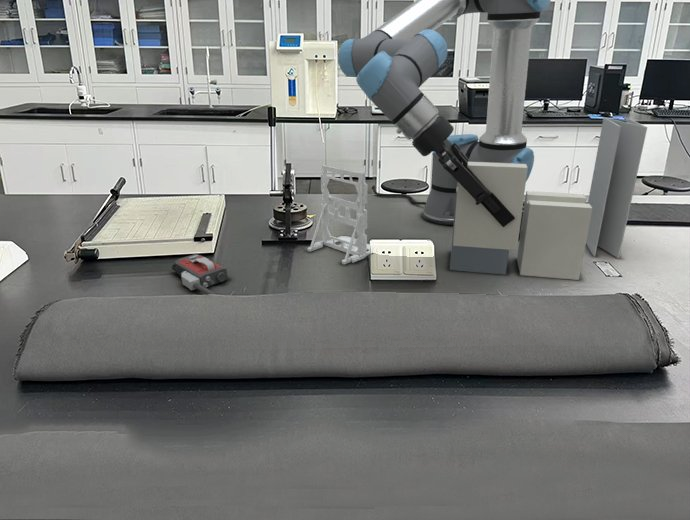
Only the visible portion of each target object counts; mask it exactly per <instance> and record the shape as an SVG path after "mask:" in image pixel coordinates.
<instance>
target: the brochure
mask: <svg viewBox="0 0 690 520" xmlns="http://www.w3.org/2000/svg"><path fill="white" fill-rule="evenodd" d="M647 130H648V127H647V126H646V125H644V124H642V123H639V122H638V121H635V120H633V119H631V118H629V117H627V118H626V121H622V120H618V119H614V118H609V117H603V119H602V125H601V130H600V134H599V141H598V145H597V151H596V156H595V161H594V168H593V173H592V179H591V184H590V188H589V189H590V190H589V194H588V198H587V204H590V205H591V207H592V213H591V218H590V224H589V229H588V234H587V240H586V246H587V248H588V249H589V251H590V253H591V254H592V256H593V257H596V255H597V249H598V247H599V248H601V249H602V250H604V251H605V252H607V253H608V254H610V255H612V256H613V257H615V258H617V259H619V258H620V257H621V251H622V245H623V242H624V237H625V232H626V228H627V223H628V218H629V214H630V209H631V204H632V200H633V196H634V191H635V187H636V181H637V178H638V177H637V176H638V173H639V168H640V164H641V159H642V154H643V149H644V145H645V140H646V135H647V132H648V131H647Z"/></svg>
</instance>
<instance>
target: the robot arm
mask: <svg viewBox="0 0 690 520" xmlns="http://www.w3.org/2000/svg"><path fill="white" fill-rule="evenodd" d="M551 2H552V0H415V1H414V2H412V3H411V4H409V5H408V6H407V7H405V8H404V9H402V10H401V11H400V12H398V13H397V14H395V15H394V16H393V17H391V18H390V19H388V20H387V21H386V22H384V23H383V24H381V25H379V27H377V28H376V29H374V30H373V31H372V32H370V33H368V34H367V35H366V36H364V37H361V38H359V37H354V38H350V39H346V40H344V41H343V42H342V44H341V45H340V47H339V50H338V55H337V61H338V66H339V68H340V70H341V72H342V73H343V74H344V75H345V76H347V77H351V78H355V79H356V84H357V85H358V87H359V88H360V90H361V91H362V92H363V93H364V94H365V95H366V97H367V98H368V100H370V101H371V102H372V103H373V104H374V105H375V106H376V107H377V108H378V109H379V111H380V112H381V113H383V115H384V116H385V117H386V118H387V119H388V120H389V121H390V122H391V124H393V125H394V126H395V127H396V133H397V134H398V135H399V134H402V135H403V136H404V137H405V138H406V139H407V140H408V141H409V140H410V141H411V140H412V142H411V145H412V146H413V148H414V149H415V150H416V151H417V152H418V154H420V155H421V156H423V157H427V156H429V155H430V154H431V153H432V165H431V180H430V183H431V184H430V191H429V193H428V196H427V199H426V202H425V201H416V200H414V198H413V197H412V196H410V195H409V194H404V193H381V192H378V191H377V190H376V185H373V184H372V186H371V190H372V192H373V194H375V195H376V196H378V197H387V198H388V197H389V198H390V197H401V198H407V199H409V200H410V202H411V203H412V204H414V205H419V206H420V205H423V210H422V217H423V219H425V220H427V221H428V222H431V223H433V224H437V225H443V226H453V224H454V212H455V200H456V188H457V181H458V182H459V183H460V184H461V185H462V186H463V187H464V189H465V190H466V191H467V192H468V193H469V194H470V195H471V196H472V197H473V198H474V199H475V201H476V203H475V204H476V205H479V204H480V203H481V204H482V205H483V206H484V207H485V208H486V209H487V210H488V211H489V212H490V214H491V215H492V216H493V217H494V218H495V219H496V220H497V221H498V222H499V223H500V225H501V226H502V227H505V226H506V225H507V224H509V223H510V222H511V221H512V220H514V219H515V217H514V216H513V215H512V214H511V213H510V211H509V210H508V209H507V208H506V207H505V206H504V205H503V204H502V203H501V202H500V200H499V199H498V198H497V197H496V196H495V195H494V194H493V193H492V192H491V193H490V191H489V190H488V189H487V188H486V187H485V186H484V185H483V183H482V182H481V181H480V180H479V179H478V178H477V176H476V175H475V174H474V173H473V172H472V171H471V170H470V169H469V167H468V166H467V165H468V162H489V163H514V164H526V165H527V167H528V169H527V177H526V182H527V181H528V180H529V178H530V175H531V173H532V171H533V167H534V163H535V155H534V154H535V152H534V150H533V149H531V148H530V147H527V144H528V143H527V142H528V137H526V136H525V135H524V133H522V129H523V119H524V109H525V99H526V89H527V79H528V69H529V60H530V51H531V50H530V49H531V39H532V30H533V27H534V26H535V25H536V24H537V23H538V22H539V21H540V18H541V12H543V11H546V10H547V9H548V8H549V6H550V4H551ZM479 13H482V14H486V13H487V19H486V22H487V23H488V24H489V26H490V27H491V28H492V42H491V55H490V69H489V81H488V82H489V84H488V95H487V97H488V98H487V100H488V101H487V111H486V125H485V126H486V127H485V132H484V133H482V135H480V136H478V135H477V134H474V133H473V134H472V133H471V134H470V133H469V134H466V133H465V134H464V133H463V134H453V132H454V130H455V129H454V126H453V125H452V124H451V123H450V122H449V121H448V119H447V118H446V117H445V116H444V115H441V114H439V109H438V108H437V107H436V106H435V105H434V103H433V102H432V101H431V100H430V99H429V98H428V97H427V95H425V94H424V93H423V91H422V90H421V89H420V87H421V86H422V85H424V83H425V82H427V80H429V79H430V78H431V77H432V76H433V75H435V74H436V73H437V72H438V71H439V69H440V67H442V65H443V64H444V63H445V61H446V60H447V57H448V45H447V42H446V40H445V39H444V37H443V36H442V35H441V33H439V32H438V31H436V30H437V29H438V28H440V27H441V26H442V25H443V24H445V23H446V22H447V21H454V20H457V19H459V18H460V17H461V16H463V15H467V14H479ZM452 134H453V135H452ZM462 163H463V164H462Z"/></svg>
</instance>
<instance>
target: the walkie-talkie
mask: <svg viewBox="0 0 690 520" xmlns="http://www.w3.org/2000/svg"><path fill="white" fill-rule="evenodd" d="M170 268H171V269H172V270H173V271H174V272H175V273H176V274H177V275H178V276H180V278H181V283H182V284H181V285H182V286H185V288H188V289H189V290H190V291H194V290H197V291H200V292H202V293H203V294H204V295H207V294H216V292H214V291H212V290H210V289H209V287H212V286H214V285H215V286H216V285H218V284H220V283H223V282H226V281H228V271H227V270H228V269H227V267H225V266H223V265H221V264H219V263H217V262H215V261H213V260H211V259H210V258H207V257H205V256H203V255H201V254H197V253H195V254H191V255H187V256H184V257H181V258H178V259H176V260H175V262H174V264H171V266H170Z"/></svg>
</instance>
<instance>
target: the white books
mask: <svg viewBox="0 0 690 520" xmlns="http://www.w3.org/2000/svg"><path fill="white" fill-rule="evenodd" d="M587 201H588V197H587V196H586V195H585V194H584V193H572V192H568V193H567V192H554V191H553V192H551V191H533V190H532V191H531V190H530V191H529V190H525V195H524V202H523V210H522V212H523V218H522V226H521V233H520V240H518V247H517V257H516V261H517V266H518V267H517V268H518V271H519V276H525V277H526V276H527V277H537V278H550V279H561V280H562V279H563V280H574V281H579V280H580V277H581V270H582V266H583V262H584V261H583V260H584V255H585V250H586V246H587V244H586V240H587V234H588V229H589V224H590V218H591V213H592V207H591V205H590V204H588V203H587Z"/></svg>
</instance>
